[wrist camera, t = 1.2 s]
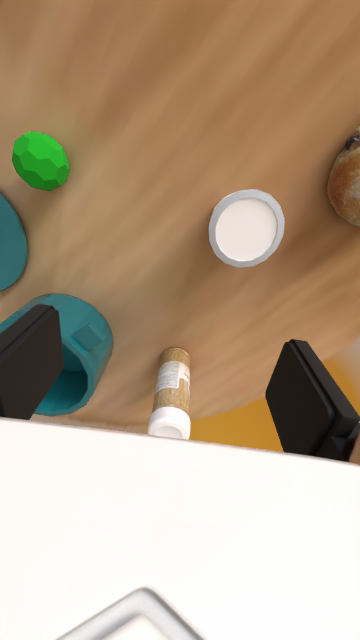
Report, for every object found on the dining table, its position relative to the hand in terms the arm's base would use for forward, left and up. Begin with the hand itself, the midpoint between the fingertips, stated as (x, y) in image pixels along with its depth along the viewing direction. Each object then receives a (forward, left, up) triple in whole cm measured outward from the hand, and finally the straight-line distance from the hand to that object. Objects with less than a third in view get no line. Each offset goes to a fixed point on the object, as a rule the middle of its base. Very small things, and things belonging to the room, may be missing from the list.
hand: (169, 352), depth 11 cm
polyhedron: (-14, -7, -23) cm, 28 cm away
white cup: (+2, +6, -23) cm, 24 cm away
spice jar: (+14, -11, -23) cm, 29 cm away
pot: (+2, -22, -23) cm, 32 cm away
